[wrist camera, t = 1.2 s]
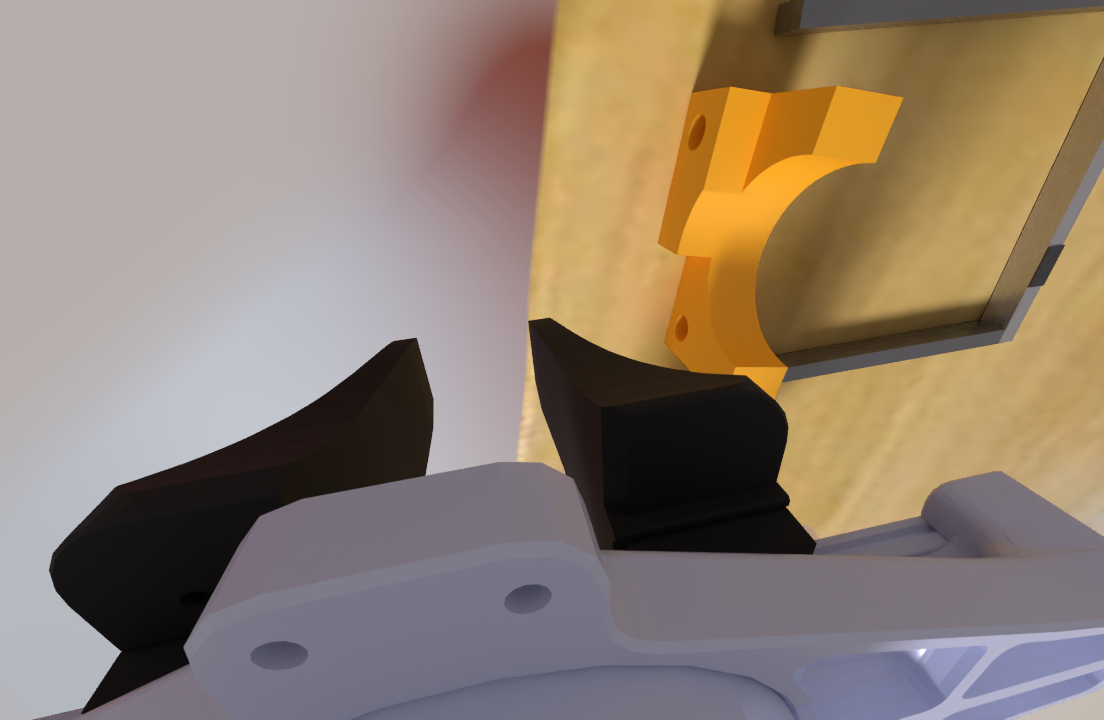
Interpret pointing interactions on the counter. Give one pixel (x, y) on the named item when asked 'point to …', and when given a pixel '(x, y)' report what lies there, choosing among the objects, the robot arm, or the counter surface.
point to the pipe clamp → (751, 207)
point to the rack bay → (1088, 148)
